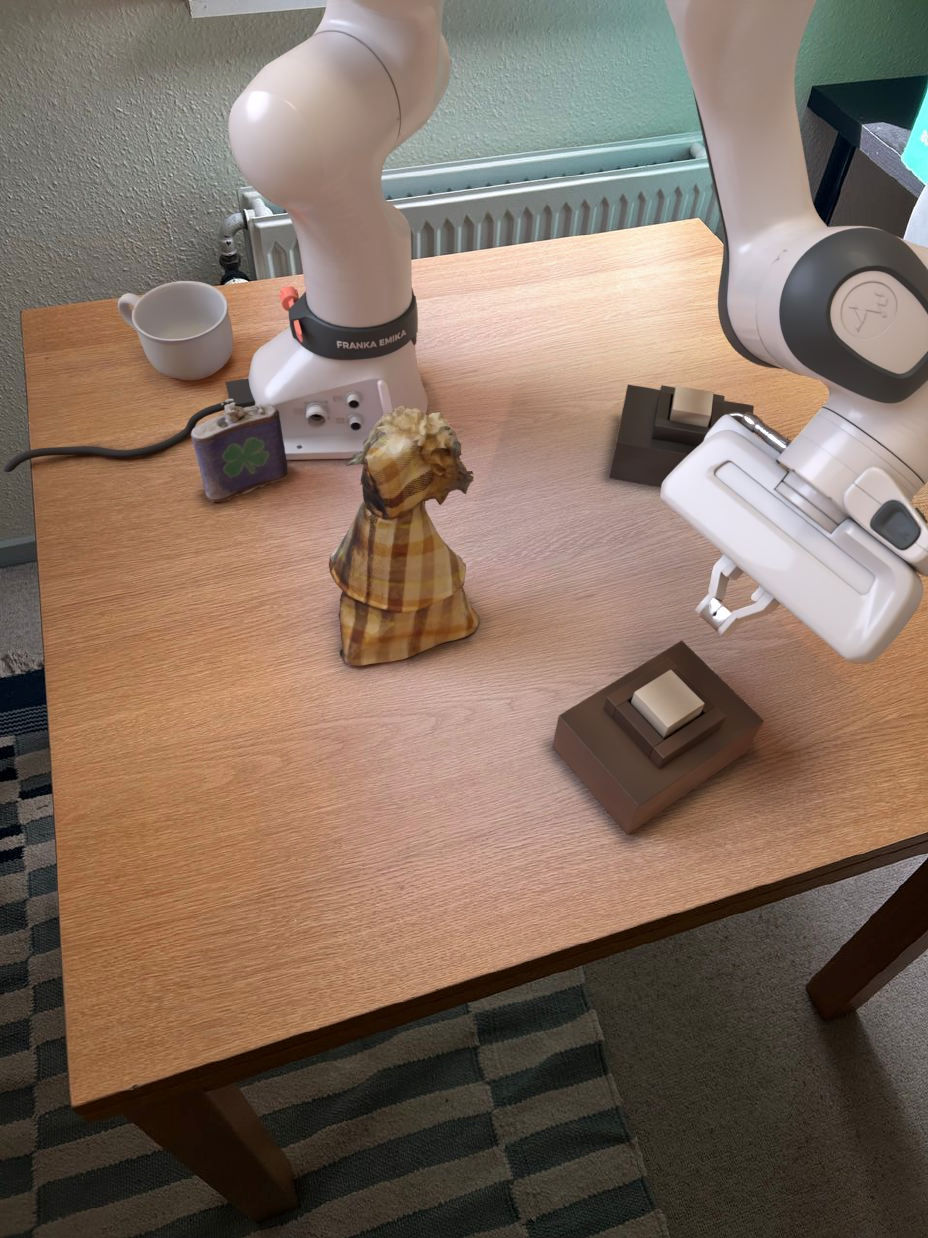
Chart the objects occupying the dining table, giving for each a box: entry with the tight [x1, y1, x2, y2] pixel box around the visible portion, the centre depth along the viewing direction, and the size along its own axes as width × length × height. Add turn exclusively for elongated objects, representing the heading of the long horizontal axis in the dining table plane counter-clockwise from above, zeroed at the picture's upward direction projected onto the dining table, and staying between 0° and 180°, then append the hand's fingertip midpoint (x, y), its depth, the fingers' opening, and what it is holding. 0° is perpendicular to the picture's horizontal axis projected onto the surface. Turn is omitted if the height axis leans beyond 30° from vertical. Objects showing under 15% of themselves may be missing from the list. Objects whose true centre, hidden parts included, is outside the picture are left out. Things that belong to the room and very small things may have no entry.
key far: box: [669, 385, 714, 427], centre depth 97 cm, size 4×4×2 cm
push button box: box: [551, 640, 765, 836], centre depth 77 cm, size 14×10×7 cm
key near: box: [631, 670, 704, 738], centre depth 74 cm, size 4×4×2 cm
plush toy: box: [328, 406, 481, 667], centre depth 79 cm, size 14×14×25 cm
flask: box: [190, 398, 290, 503], centre depth 94 cm, size 9×3×11 cm, turn 121°
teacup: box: [117, 280, 234, 381], centre depth 108 cm, size 14×11×8 cm
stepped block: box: [608, 384, 755, 488], centre depth 100 cm, size 14×10×7 cm
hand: (710, 624), depth 69 cm, fingers closed
